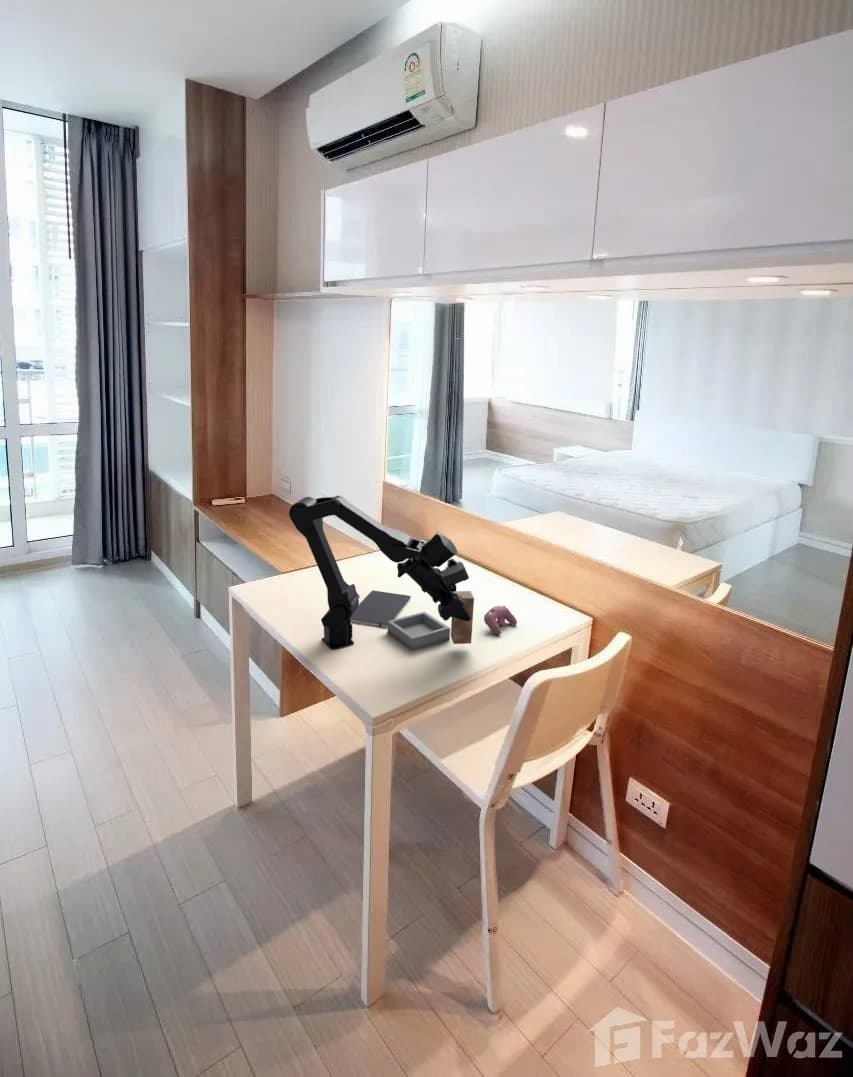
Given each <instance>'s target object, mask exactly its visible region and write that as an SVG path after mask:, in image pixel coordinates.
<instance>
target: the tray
mask: <svg viewBox="0 0 853 1077" xmlns="http://www.w3.org/2000/svg"><path fill="white" fill-rule="evenodd" d="M387 634H388V635H389V636H391V637H392V638H394V639H395V640H396V641H397V642H399V643H400V644H402V645H403V646H404V647H406V648H407V649H408V650H410V651H411V652H413V651H416V650H419V649H420V650H421V649H423V648H427V647H430V646H434V645H437V644H441V643H444V642H447V641H450V640H451V639H450V638H451V627H449V626H448V625H447V624H445V623H443V622H441V621H440V620H438V619H437V618H436V617H434V616H432V615H431V614H429V613H428V612H425V611H421V612H418V613H415V614H414V613H413V614H411V615H405V616H403V617H399V618H398V617H397V618H396V619H394V620H390V621H388V627H387Z"/></svg>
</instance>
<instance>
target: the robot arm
mask: <svg viewBox="0 0 853 1077" xmlns="http://www.w3.org/2000/svg"><path fill="white" fill-rule="evenodd" d="M330 516H335V517H336V518H338V519H340V520H341V521H343V522H344V523H346V524H347V525H349V527H352V528H353V529H354V530H356V531H357V532H359V533H360V534H362V535H363V536H365V537H366V538H368V539H369V540H371V541H372V542H373V543H374V544H376V546H377V547H378V549H379V550H380V552H381V553H382V554H383V555H385V556H386V558H388V559H389V560H390V561H392V562H393V563H397V565H396V568H397V578H401V577H403V575H405V574H407V576H409V578H411V579H412V580H413V581H414V582H415V583H416V584H417V585H418V586H419V587H420V590H421V591H422V592H423V593H424V594H425V593H427V595H428V596H430V598H431V599H432V601H433V602H434V603H435V604H437V603H438V602H439V604H438V605H437V612H438V614H439V617H440V618H441V619H442V620H443V621H445V622H446V621H448V620H449V619H450V618H452V617H454V618H457V619H461V620H464V621H467V622H468V621H469V620H471V618H470V616H469V615H468V614H467V612H466V611H465V609H464V608H463V605H464V603H463V600H462V598H461V595H460V596H459V595H458V594H457V593H453V591H457V584H459V583H461V582H466V581H467V580H469V578H470V576H469V574H468V572H467V568H466V567H465V565H464V563H463V562H462V561H457V560H455V559H454V558H453V557H454V556H455V555H457V554H458V550H457V548H456V545H455V544H454V543H453V541H452V539H450V538H448V537H447V536H445V535H444V534H441V532H440V531H437V532H436V533H435V534H434V535H433V536H432V537H431V538H430V539H429V540H427V541H424V540H419V539H415V538H412V536H410V535H409V534H407V533H406V532H403V531H401V530H398V529H397V528H391V527H389V526H386V525H383V524H382V523H380V522H379V521H377V520H376V519H375V518H373V517H371V516H370V515H369V514H368V513H366V512H364V511H363V510H361V509H360V508H358V507H357V506H355V505H354V504H352V503H351V502H350V501H348V500H346V498H345V497H343V496H342V495H335V496H327V497H326V496H325V497H323V496H322V497H318V498H314V497H311V496H304V497H302V498H301V499H299V500H297V501H296V502H295V503H293V504H292V505H291V507H290V508H289V511H288V517H289V519H290V521H291V523H292V524H293V526H294V527H295V529H296V530H297V531H298V532H299V533H300V534H301V535H303V537H304V539H306V542H307V544H308V546H309V549H310V550H311V554H312V556H313V558H314V560H315V564H316V565H317V568H318V570H319V572H320V575H321V577H322V580H323V582H324V584H325V587H326V590H327V594H326V595H327V605H328V610H327V611H326V613H325V614H324V615H323V616H322V618H321V619H320V620H321V623H322V626H323V637H322V638H321V642H323V643H324V644H325V645H326V646H327V647H328V648H329V649H330V650H332V651H334V650H338V649H341V648H345V647H348V646H351V645H354V644H355V641H354V640H352V639H353V624H352V622H351V620H350V619H349V618H350V617H351V616H352V614H353V613H354V612H355V610H356V609H357V607H358V605H359V604H360V600H359V599H360V598H361V596H360V594H359V593H358V592H357V589H356V585H355V584H354V583H351V584H350V585H349V584H348V583H347V582H346V581H345V580H344V578H343V575H342V573H341V570H340V568H339V565H338V563H337V560H336V558H335V556H334V554H333V551H332V548H331V546H330V544H329V542H328V538H327V537H326V534H325V531H324V525H323V524H324V522H323V518H326V517H330ZM446 562H447V565H446V566H445V568H444V569H443V570H440V567H442V565H443V564H445V563H446Z"/></svg>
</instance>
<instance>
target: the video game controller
mask: <svg viewBox="0 0 853 1077" xmlns="http://www.w3.org/2000/svg"><path fill="white" fill-rule="evenodd" d="M483 620H484V624H486V625H487V627H488V628H489V629H490V631H491V632H492V633H493V634H495V635H496V636H500V635H501V633H502V632H501V631H502V630H501V628H500V626H501V625H502V626H504V625H505V623H506V621H507V622H508V624H510V625H513V626H517V624H518V620H517V619H516V617H515V615H514V614H513V613H512V612H511V611H510V610H509V608H508V607H506V606H505V605H497V606H493V607H491V608H489V610H488V611H487V613H485V614H484V616H483Z"/></svg>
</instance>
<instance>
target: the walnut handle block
mask: <svg viewBox="0 0 853 1077" xmlns="http://www.w3.org/2000/svg"><path fill="white" fill-rule="evenodd" d="M453 593H457V594H458V595H459V596H460V595H461V598H462V600H463V603H464V605H463V608H464V609H465V611H466V612H467V614H468V615H469V616H470V618H471V620H469V621H468V622H467V621H464V620H461V619H457V618H454V617H451V623H450V626H451V627H450V638H451V641H452V643H453V645H460V644H461V645H462V644H463V645H464V644H465V645H467V644H472V638H473V636H472V634H473V620H474V619H473V618H474V606H475V605H474V604H475V597H474V595H473V593H472V591H471V590H463V591H461V590H460V591H459V590H458V591H457V590H456V591H453Z"/></svg>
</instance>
